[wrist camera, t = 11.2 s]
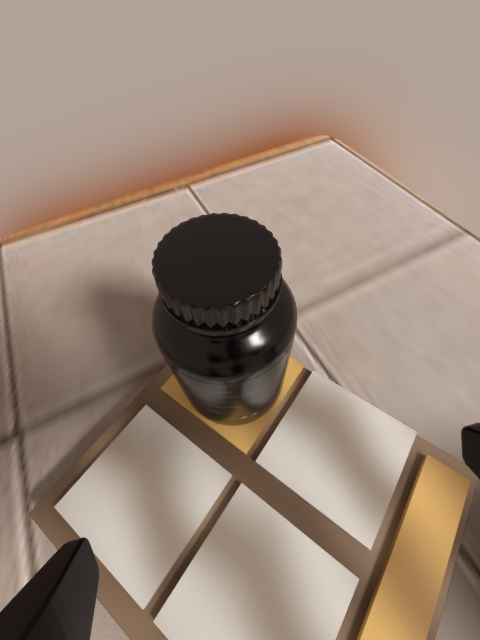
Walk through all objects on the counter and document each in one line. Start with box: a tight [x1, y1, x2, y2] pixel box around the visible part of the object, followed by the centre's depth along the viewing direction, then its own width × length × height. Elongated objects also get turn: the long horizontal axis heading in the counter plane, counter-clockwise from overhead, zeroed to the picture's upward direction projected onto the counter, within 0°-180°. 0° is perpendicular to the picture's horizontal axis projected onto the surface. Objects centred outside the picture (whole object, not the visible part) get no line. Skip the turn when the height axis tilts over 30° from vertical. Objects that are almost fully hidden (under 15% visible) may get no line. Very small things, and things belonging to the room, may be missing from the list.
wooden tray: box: [29, 357, 478, 640], centre depth 18 cm, size 17×20×2 cm
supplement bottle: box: [152, 213, 297, 426], centre depth 16 cm, size 7×7×12 cm
